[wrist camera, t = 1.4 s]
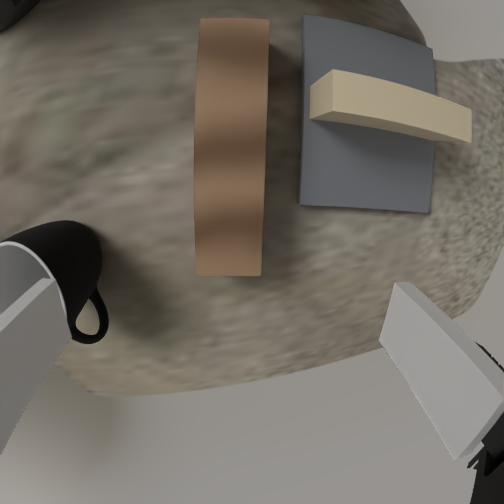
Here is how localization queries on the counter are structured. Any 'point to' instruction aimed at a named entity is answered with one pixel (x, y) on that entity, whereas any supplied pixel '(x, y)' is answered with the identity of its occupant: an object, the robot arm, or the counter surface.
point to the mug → (55, 269)
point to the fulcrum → (370, 118)
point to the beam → (230, 145)
